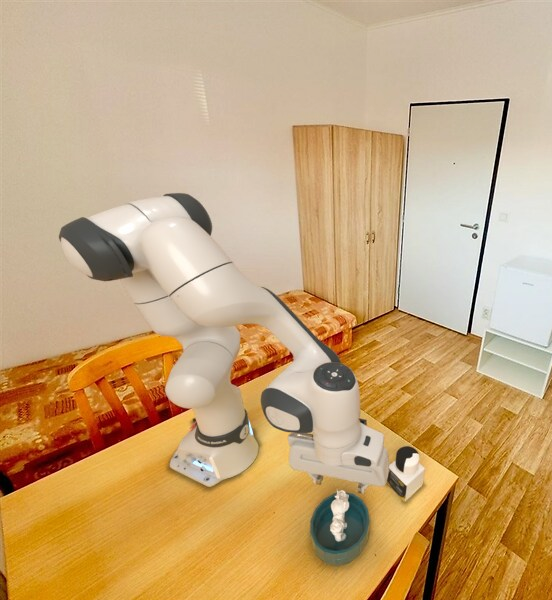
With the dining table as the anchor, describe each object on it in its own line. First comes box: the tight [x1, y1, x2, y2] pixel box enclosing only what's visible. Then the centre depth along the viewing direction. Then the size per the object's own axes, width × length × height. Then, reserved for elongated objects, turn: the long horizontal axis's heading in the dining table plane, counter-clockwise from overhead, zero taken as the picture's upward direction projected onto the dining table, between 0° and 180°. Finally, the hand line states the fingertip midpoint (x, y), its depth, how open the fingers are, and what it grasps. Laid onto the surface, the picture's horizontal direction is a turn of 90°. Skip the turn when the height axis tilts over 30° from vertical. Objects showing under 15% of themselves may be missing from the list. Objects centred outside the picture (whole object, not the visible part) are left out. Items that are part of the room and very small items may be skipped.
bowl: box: [309, 491, 371, 567], centre depth 73 cm, size 13×13×5 cm
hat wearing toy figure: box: [330, 489, 349, 542], centre depth 72 cm, size 9×4×12 cm, turn 179°
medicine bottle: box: [386, 445, 426, 503], centre depth 84 cm, size 7×7×12 cm
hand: (340, 485), depth 67 cm, fingers open, 8 cm apart
